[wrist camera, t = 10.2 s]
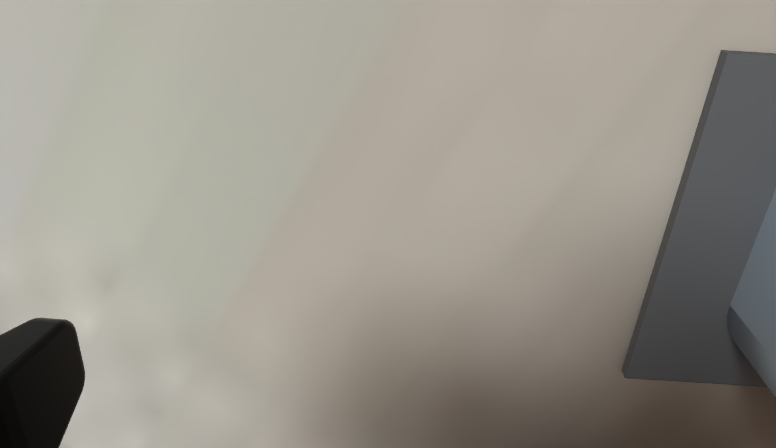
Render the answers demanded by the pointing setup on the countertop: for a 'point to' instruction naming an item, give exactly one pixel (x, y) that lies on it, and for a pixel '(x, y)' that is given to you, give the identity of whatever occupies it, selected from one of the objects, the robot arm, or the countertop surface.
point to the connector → (758, 303)
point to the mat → (711, 232)
